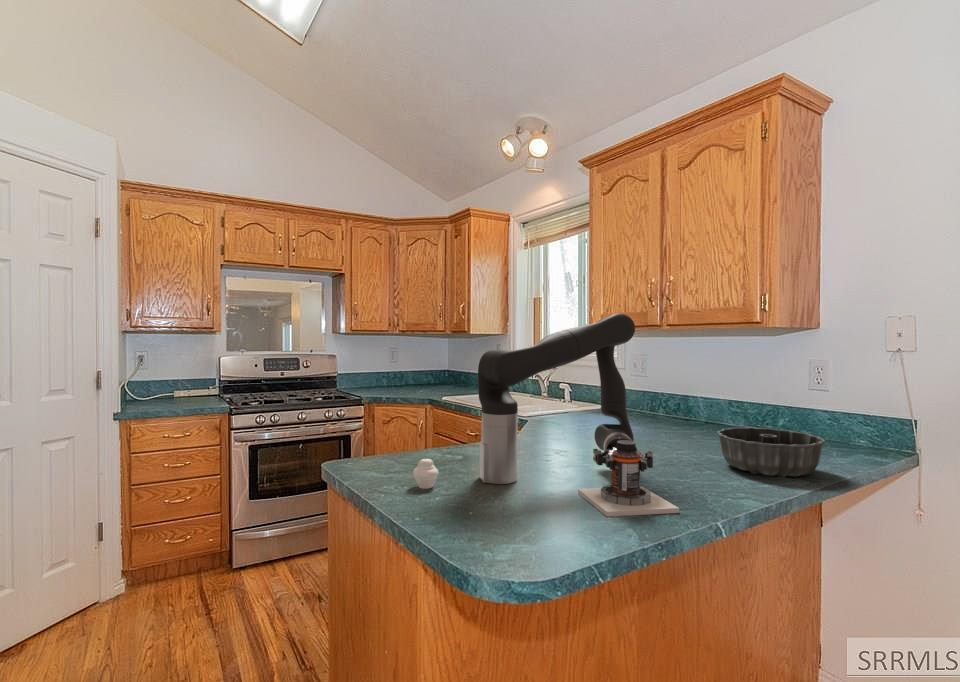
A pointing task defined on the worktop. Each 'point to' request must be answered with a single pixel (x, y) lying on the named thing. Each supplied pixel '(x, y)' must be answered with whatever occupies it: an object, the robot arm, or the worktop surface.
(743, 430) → the bundt pan
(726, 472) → the worktop surface
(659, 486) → the worktop surface
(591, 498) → the board
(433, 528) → the worktop surface
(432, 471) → the white lidded jar
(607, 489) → the collar
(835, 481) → the worktop surface
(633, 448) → the supplement bottle
